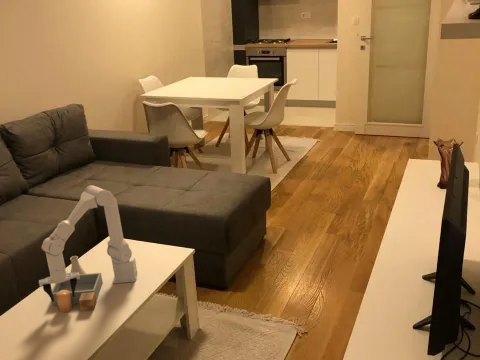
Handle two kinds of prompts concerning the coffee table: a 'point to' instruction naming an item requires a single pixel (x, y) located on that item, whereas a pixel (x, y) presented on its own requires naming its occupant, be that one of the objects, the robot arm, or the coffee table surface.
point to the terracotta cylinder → (64, 301)
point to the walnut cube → (87, 301)
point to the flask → (76, 265)
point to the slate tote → (80, 286)
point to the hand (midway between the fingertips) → (63, 297)
